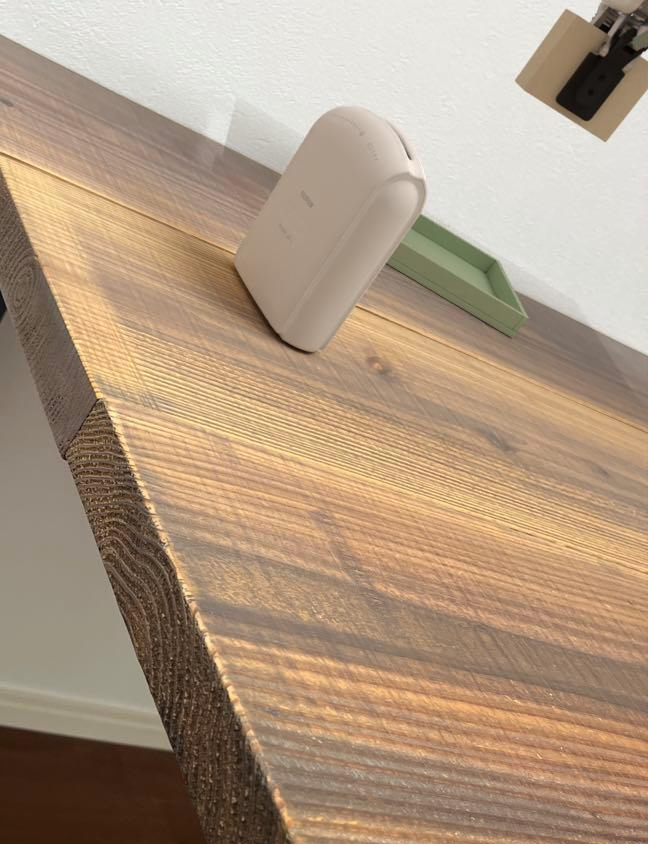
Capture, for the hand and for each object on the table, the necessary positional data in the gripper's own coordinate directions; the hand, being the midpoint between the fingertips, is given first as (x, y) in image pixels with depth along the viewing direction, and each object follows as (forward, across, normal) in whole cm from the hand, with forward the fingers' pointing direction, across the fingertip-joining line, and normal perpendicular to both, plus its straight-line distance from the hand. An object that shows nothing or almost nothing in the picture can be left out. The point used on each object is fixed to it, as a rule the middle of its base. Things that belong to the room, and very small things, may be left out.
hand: (565, 103), depth 83 cm
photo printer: (+17, -30, +16) cm, 38 cm away
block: (+1, 0, 0) cm, 1 cm away
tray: (+16, +2, 0) cm, 17 cm away
